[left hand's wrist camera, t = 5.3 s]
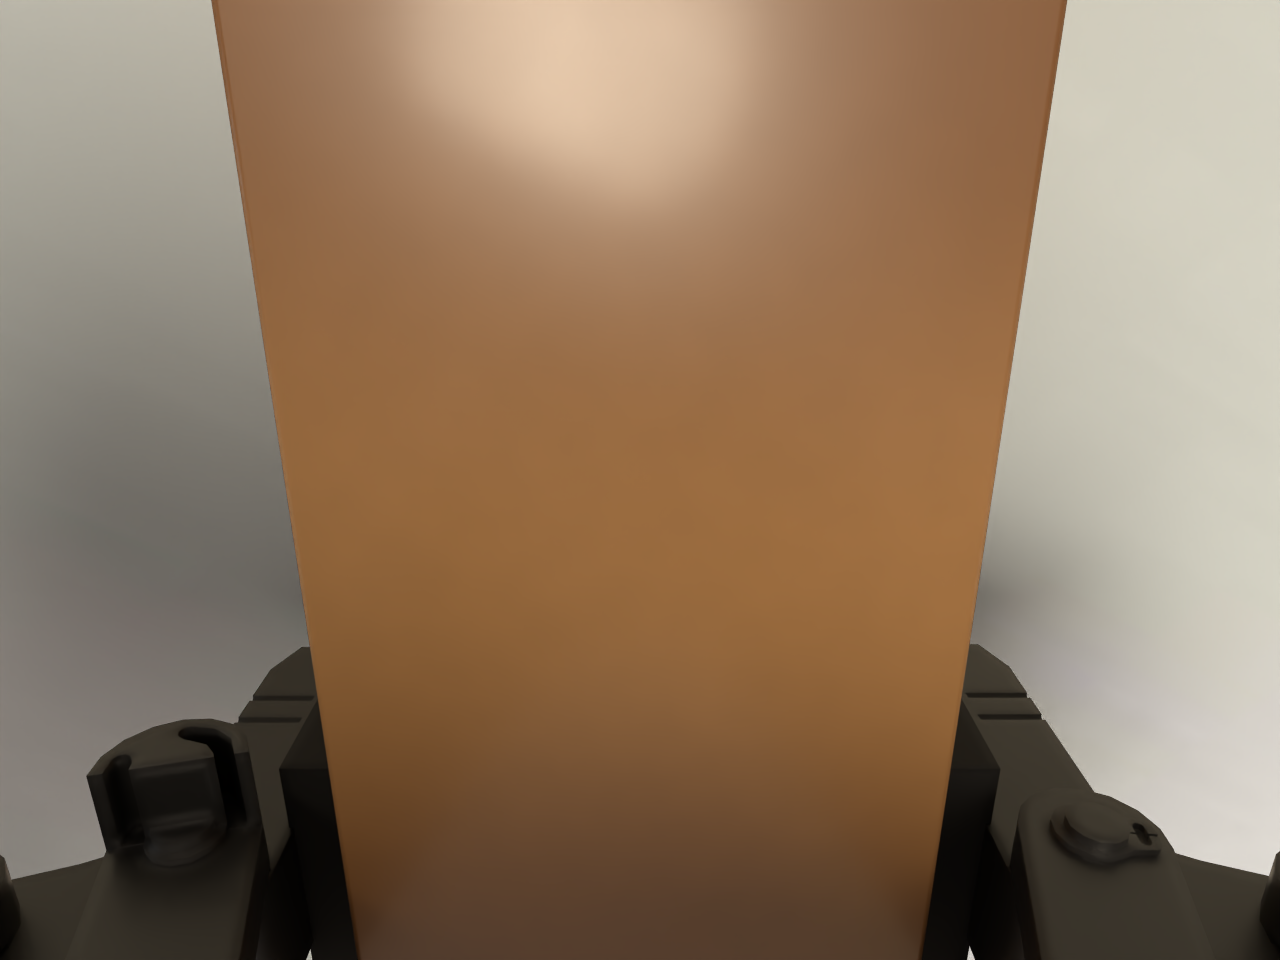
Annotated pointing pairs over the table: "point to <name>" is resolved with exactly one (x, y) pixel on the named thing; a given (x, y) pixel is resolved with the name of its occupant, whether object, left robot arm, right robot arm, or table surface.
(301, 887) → the left robot arm
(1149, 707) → the table surface
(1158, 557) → the table surface
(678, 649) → the post
